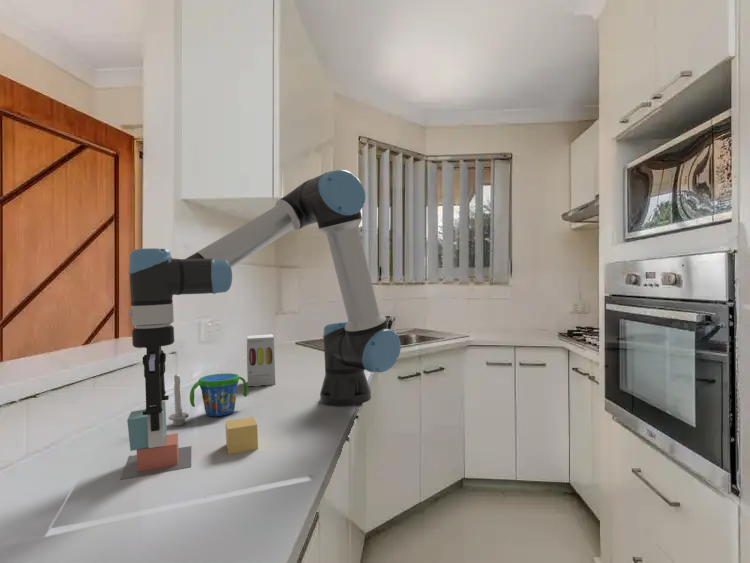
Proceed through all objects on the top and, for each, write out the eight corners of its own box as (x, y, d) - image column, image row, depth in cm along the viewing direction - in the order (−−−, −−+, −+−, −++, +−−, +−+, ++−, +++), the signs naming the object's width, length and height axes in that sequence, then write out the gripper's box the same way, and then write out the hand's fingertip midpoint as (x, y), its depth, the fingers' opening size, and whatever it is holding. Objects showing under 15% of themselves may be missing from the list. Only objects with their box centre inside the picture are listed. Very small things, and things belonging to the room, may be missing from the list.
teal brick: (166, 434, 93) (163, 405, 93) (165, 443, 88) (161, 413, 88) (134, 440, 91) (131, 411, 91) (130, 451, 86) (127, 420, 85)
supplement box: (247, 387, 154) (245, 338, 153) (247, 381, 162) (246, 335, 162) (276, 384, 156) (274, 336, 156) (274, 379, 165) (273, 333, 165)
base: (191, 449, 98) (190, 427, 98) (191, 470, 87) (190, 446, 87) (129, 459, 94) (128, 437, 93) (120, 483, 82) (119, 457, 82)
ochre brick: (254, 443, 101) (253, 416, 101) (258, 452, 95) (257, 424, 95) (226, 448, 98) (225, 421, 98) (228, 458, 93) (227, 429, 93)
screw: (170, 422, 118) (190, 420, 119) (167, 428, 113) (188, 425, 115) (168, 373, 118) (187, 371, 119) (165, 377, 113) (186, 375, 114)
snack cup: (242, 404, 133) (241, 369, 133) (254, 412, 124) (252, 375, 124) (186, 414, 124) (185, 378, 124) (194, 424, 116) (193, 384, 116)
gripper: (137, 323, 98) (142, 427, 98) (124, 332, 79) (130, 461, 79) (175, 320, 101) (179, 422, 101) (171, 329, 82) (176, 453, 82)
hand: (157, 439), depth 90 cm, fingers open, 7 cm apart
